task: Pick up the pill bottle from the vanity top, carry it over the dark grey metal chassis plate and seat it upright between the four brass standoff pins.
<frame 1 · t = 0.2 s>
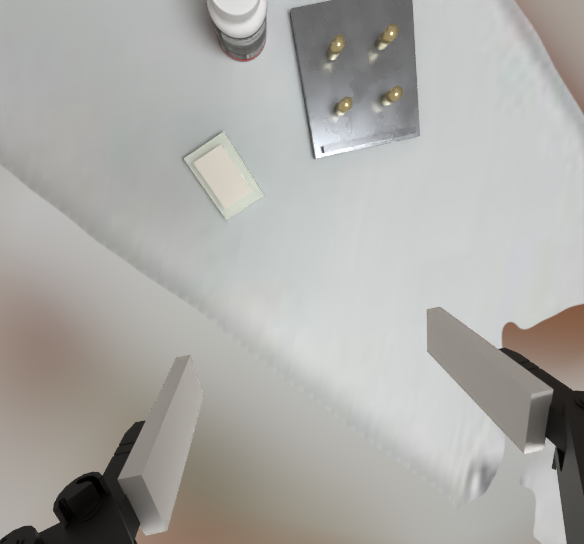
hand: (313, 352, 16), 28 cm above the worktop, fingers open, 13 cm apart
pill bottle: (242, 35, 34), on the worktop
chassis: (357, 80, 37), on the worktop
soap dish: (226, 177, 39), on the worktop
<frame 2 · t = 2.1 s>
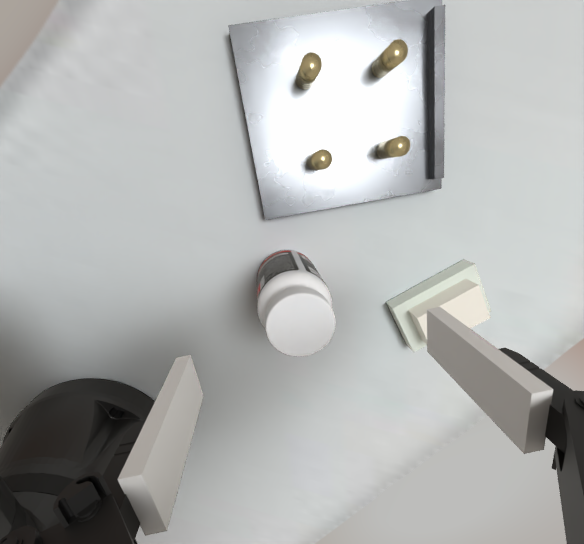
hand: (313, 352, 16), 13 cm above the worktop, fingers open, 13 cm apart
pill bottle: (286, 276, 29), on the worktop
chassis: (342, 119, 25), on the worktop
soap dish: (434, 303, 31), on the worktop
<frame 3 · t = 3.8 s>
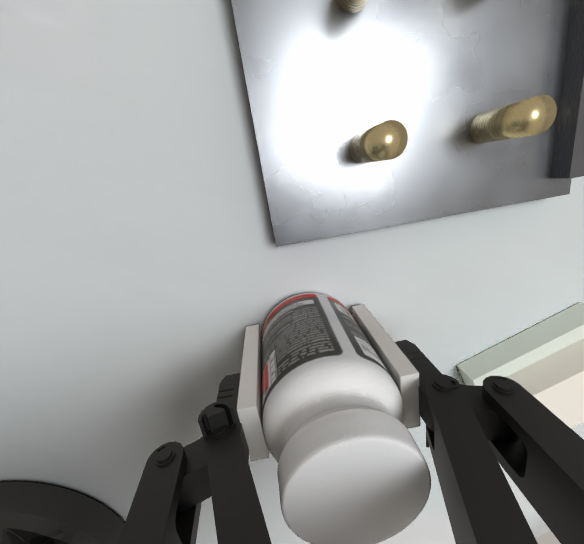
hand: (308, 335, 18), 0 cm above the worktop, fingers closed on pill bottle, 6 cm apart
pill bottle: (307, 330, 18), on the worktop, touching gripper
chassis: (410, 74, 14), on the worktop
soap dish: (527, 365, 21), on the worktop
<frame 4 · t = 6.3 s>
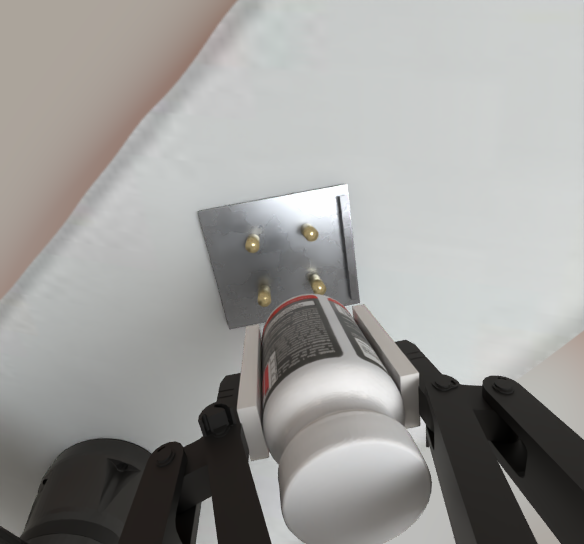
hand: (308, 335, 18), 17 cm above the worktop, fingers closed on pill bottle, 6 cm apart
pill bottle: (307, 331, 18), point 17 cm above the worktop, touching gripper
chassis: (284, 258, 34), on the worktop
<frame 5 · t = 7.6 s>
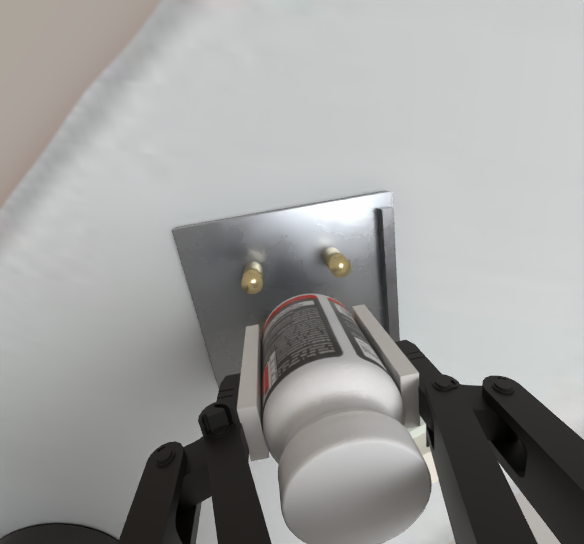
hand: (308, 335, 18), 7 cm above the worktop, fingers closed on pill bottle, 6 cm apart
pill bottle: (307, 331, 18), point 6 cm above the worktop, touching gripper
chassis: (296, 293, 24), on the worktop
soap dish: (399, 444, 31), on the worktop
when the fingers open (3 cm above the worktop, at t = 8.7 s): pill bottle drops 1 cm, resting on chassis.
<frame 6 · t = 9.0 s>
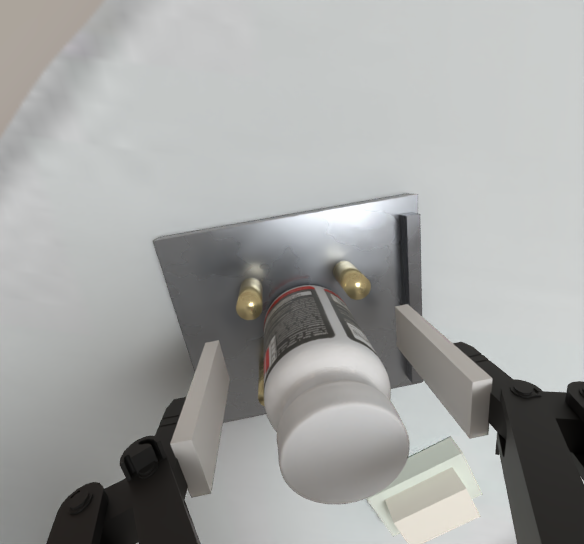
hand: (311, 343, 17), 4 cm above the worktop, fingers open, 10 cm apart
pill bottle: (306, 320, 20), point 1 cm above the worktop, touching chassis
chassis: (302, 313, 21), on the worktop
soap dish: (417, 478, 27), on the worktop
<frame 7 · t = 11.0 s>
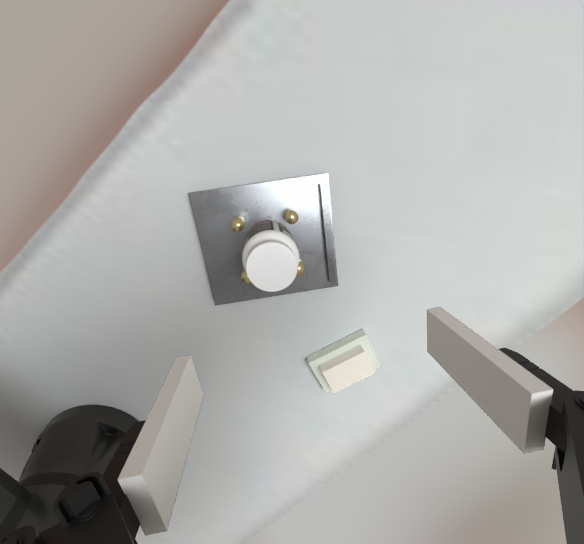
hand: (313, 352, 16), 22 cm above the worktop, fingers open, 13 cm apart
pill bottle: (269, 243, 35), point 1 cm above the worktop, touching chassis
chassis: (268, 240, 36), on the worktop
soap dish: (342, 358, 43), on the worktop
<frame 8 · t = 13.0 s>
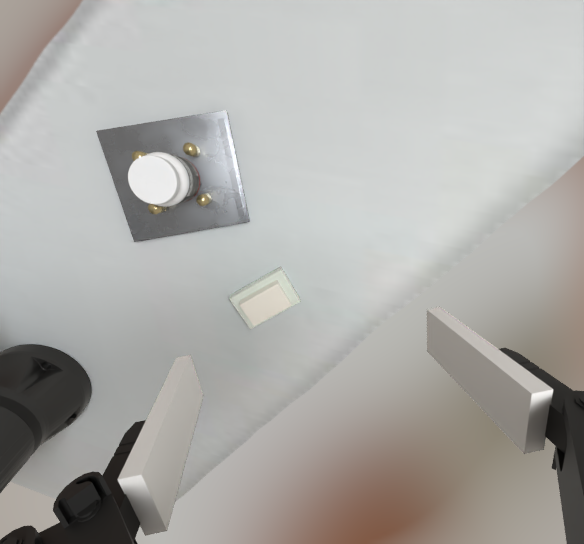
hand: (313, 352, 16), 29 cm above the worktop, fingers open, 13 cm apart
pill bottle: (179, 179, 38), point 1 cm above the worktop, touching chassis
chassis: (180, 179, 39), on the worktop
soap dish: (265, 296, 46), on the worktop
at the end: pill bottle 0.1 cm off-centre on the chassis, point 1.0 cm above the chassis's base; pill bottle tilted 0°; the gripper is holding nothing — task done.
